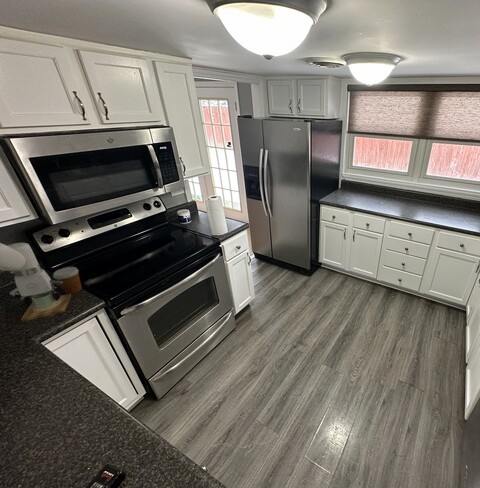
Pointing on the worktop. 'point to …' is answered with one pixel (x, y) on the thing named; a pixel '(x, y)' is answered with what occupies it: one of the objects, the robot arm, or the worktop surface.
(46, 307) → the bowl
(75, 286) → the disposable coffee cup
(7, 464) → the worktop surface
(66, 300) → the base
